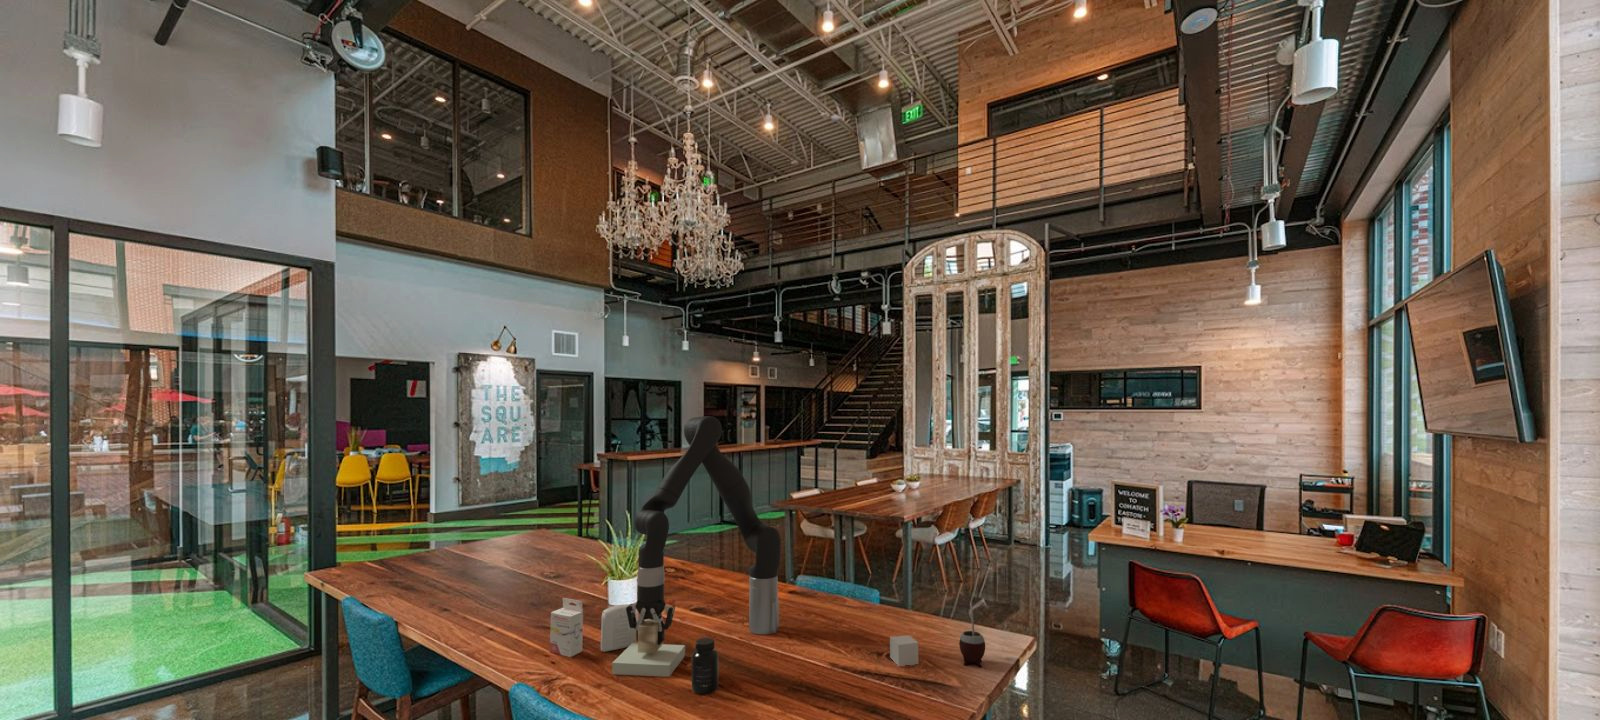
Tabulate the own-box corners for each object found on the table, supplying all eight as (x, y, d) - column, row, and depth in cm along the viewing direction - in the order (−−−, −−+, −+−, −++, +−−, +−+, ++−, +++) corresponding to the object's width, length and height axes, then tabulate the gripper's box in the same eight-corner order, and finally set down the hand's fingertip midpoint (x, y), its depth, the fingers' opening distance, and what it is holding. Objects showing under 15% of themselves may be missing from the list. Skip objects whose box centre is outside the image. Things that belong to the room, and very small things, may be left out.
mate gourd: (972, 670, 169) (970, 614, 170) (952, 660, 176) (951, 606, 177) (992, 665, 172) (990, 610, 173) (972, 655, 179) (971, 602, 180)
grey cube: (909, 656, 179) (909, 635, 179) (918, 664, 173) (918, 642, 173) (890, 658, 177) (889, 637, 178) (898, 667, 171) (898, 644, 172)
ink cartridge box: (548, 652, 182) (549, 601, 184) (561, 646, 187) (562, 597, 188) (570, 657, 179) (571, 605, 180) (583, 651, 183) (584, 600, 184)
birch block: (662, 644, 177) (662, 619, 177) (655, 653, 171) (655, 627, 171) (645, 644, 177) (645, 619, 178) (637, 652, 171) (638, 626, 172)
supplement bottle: (692, 683, 162) (693, 636, 163) (719, 682, 162) (719, 635, 163) (690, 695, 155) (690, 646, 156) (717, 694, 155) (717, 645, 156)
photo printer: (632, 641, 191) (633, 600, 192) (637, 646, 187) (637, 604, 188) (598, 649, 185) (599, 606, 186) (602, 653, 182) (603, 610, 182)
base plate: (685, 655, 180) (685, 645, 180) (669, 676, 166) (669, 665, 166) (632, 653, 181) (632, 643, 182) (612, 674, 168) (612, 662, 168)
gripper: (679, 578, 178) (679, 639, 177) (631, 577, 180) (631, 637, 179) (671, 586, 171) (670, 649, 169) (621, 584, 172) (620, 647, 171)
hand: (650, 643), depth 174 cm, fingers closed on birch block, 5 cm apart
